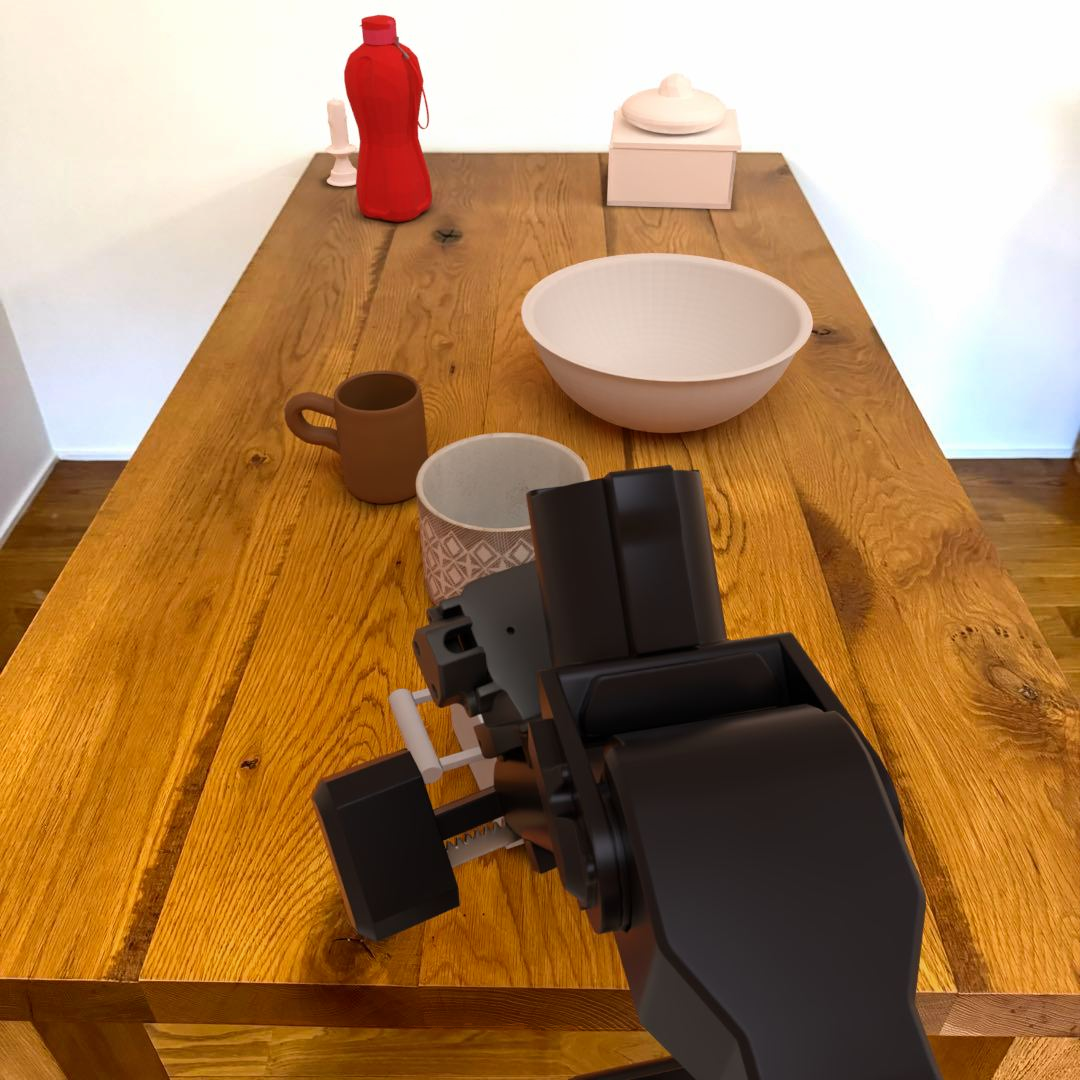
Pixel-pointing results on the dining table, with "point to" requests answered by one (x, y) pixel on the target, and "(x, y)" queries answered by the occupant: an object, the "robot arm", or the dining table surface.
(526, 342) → the dining table surface
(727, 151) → the pink lidded box
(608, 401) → the bowl
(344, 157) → the candle
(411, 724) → the drawer
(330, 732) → the dining table surface
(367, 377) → the mug
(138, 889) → the dining table surface
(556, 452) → the planter
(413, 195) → the water bottle
